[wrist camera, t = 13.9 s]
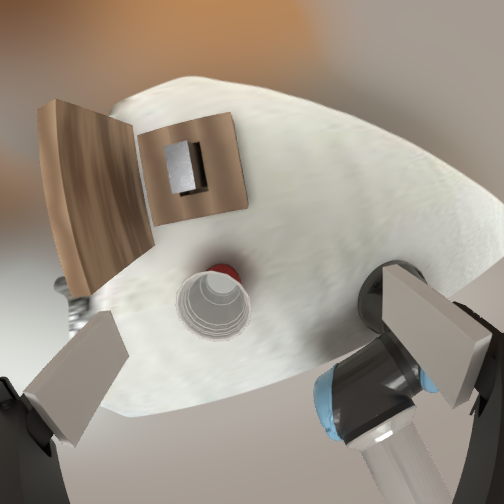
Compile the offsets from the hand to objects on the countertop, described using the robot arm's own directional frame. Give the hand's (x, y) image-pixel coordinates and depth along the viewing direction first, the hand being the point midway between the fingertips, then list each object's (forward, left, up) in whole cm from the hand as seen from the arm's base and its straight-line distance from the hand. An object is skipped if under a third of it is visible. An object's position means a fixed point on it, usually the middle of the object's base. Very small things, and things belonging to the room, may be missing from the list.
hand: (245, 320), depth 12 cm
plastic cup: (+7, +10, -35) cm, 37 cm away
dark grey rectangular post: (+7, -9, -34) cm, 35 cm away
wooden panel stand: (+10, -9, -34) cm, 37 cm away
